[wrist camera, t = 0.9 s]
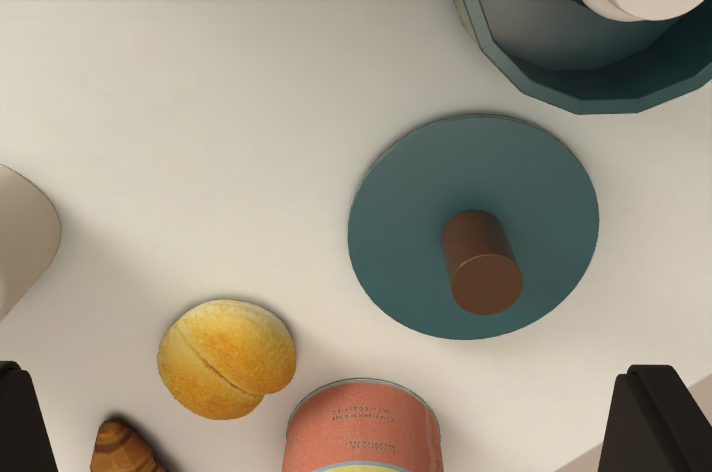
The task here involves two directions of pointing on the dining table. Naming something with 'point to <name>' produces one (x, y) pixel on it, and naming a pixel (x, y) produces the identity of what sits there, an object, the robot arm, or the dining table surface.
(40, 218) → the lumpy-topped squat cylinder
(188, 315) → the bread roll
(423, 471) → the canned food
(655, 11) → the pill bottle
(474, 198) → the lid
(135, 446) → the croissant
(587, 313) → the dining table surface
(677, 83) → the pot
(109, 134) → the dining table surface
